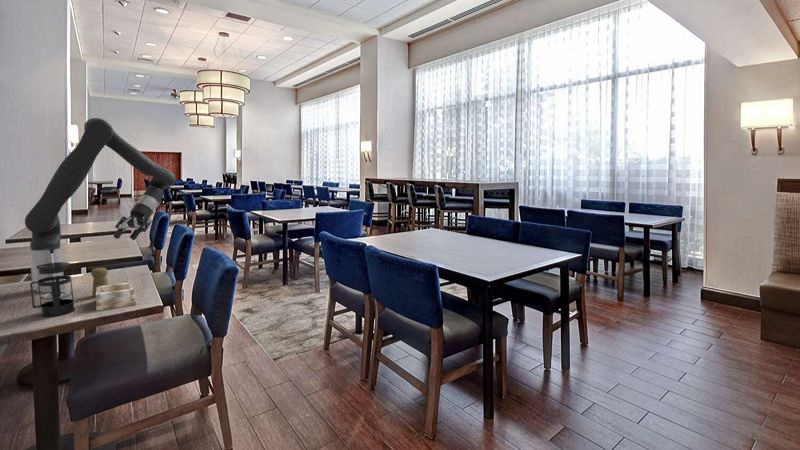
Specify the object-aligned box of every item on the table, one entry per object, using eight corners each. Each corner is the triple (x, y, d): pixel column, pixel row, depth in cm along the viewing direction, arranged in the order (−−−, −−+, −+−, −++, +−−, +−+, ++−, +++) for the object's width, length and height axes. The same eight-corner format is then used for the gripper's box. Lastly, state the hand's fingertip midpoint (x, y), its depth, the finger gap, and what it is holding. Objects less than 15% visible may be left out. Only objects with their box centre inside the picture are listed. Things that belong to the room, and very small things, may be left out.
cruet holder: (96, 310, 149) (94, 295, 148) (97, 300, 160) (95, 286, 160) (136, 304, 156) (134, 290, 155) (134, 294, 167) (133, 281, 166)
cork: (101, 298, 163) (98, 270, 161) (88, 297, 164) (85, 269, 162) (114, 293, 168) (112, 266, 167) (101, 292, 170) (99, 265, 168)
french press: (77, 305, 154) (71, 243, 151) (77, 313, 147) (70, 248, 143) (35, 312, 147) (27, 247, 144) (32, 320, 140) (24, 252, 136)
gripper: (125, 201, 182) (103, 232, 173) (152, 202, 178) (131, 233, 169) (137, 212, 188) (116, 242, 179) (163, 213, 184) (143, 244, 175)
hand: (123, 238), depth 174 cm, fingers open, 8 cm apart
